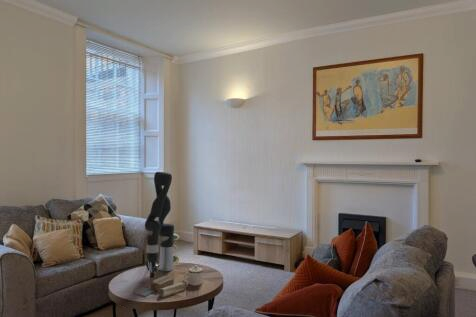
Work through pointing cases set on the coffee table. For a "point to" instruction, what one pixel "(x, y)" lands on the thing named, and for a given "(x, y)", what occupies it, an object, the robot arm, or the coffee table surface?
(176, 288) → the cream long bar
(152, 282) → the tan rectangular block
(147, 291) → the slate coaster
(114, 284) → the coffee table surface
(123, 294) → the coffee table surface
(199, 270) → the teacup with lid
